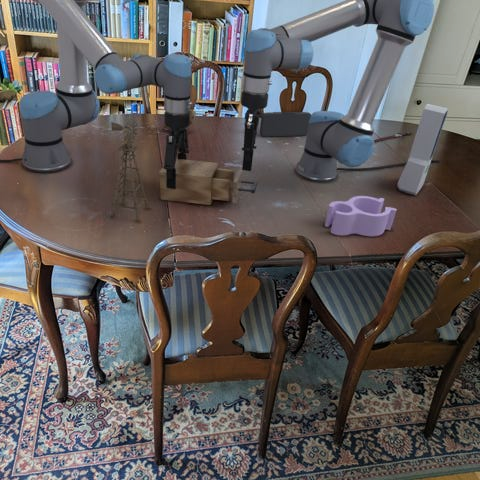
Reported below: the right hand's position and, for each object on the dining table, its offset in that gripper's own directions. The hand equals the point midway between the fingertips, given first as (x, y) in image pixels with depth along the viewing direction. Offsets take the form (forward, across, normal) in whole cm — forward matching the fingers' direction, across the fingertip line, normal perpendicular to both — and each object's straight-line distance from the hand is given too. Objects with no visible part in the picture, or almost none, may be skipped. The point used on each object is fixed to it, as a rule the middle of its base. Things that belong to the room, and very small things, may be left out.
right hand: (246, 169), depth 142 cm
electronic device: (+12, +33, -56) cm, 67 cm away
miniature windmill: (+12, -16, +31) cm, 37 cm away
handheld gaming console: (+12, +69, -6) cm, 70 cm away
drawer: (+10, 0, +6) cm, 12 cm away
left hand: (+7, 0, +22) cm, 23 cm away
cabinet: (+12, 0, +17) cm, 21 cm away
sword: (+12, +85, -55) cm, 102 cm away
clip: (+12, -2, -36) cm, 38 cm away
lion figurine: (+12, +54, +37) cm, 67 cm away
